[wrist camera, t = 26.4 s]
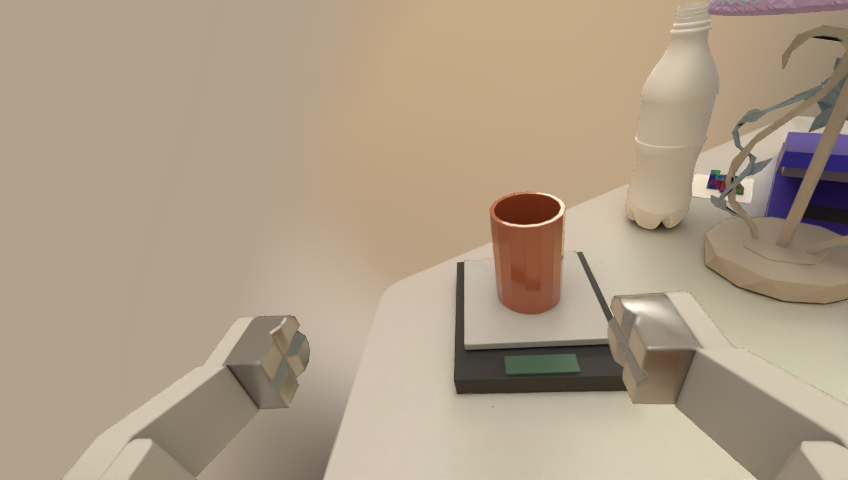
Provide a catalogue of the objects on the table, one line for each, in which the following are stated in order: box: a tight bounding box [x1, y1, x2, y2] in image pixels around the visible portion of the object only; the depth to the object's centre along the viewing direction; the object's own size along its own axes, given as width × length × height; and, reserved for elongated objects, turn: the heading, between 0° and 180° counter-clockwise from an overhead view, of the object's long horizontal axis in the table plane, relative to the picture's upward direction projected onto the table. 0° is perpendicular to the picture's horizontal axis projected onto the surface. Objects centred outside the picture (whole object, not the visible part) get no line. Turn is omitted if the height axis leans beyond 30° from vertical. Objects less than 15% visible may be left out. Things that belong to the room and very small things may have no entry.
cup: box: [490, 192, 566, 314], centre depth 34 cm, size 6×6×10 cm
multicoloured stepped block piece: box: [705, 170, 745, 196], centre depth 51 cm, size 4×3×2 cm, turn 52°
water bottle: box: [625, 1, 719, 229], centre depth 42 cm, size 7×7×25 cm
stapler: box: [765, 132, 848, 236], centre depth 43 cm, size 12×28×10 cm, turn 139°
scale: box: [454, 251, 627, 394], centre depth 37 cm, size 15×17×3 cm
